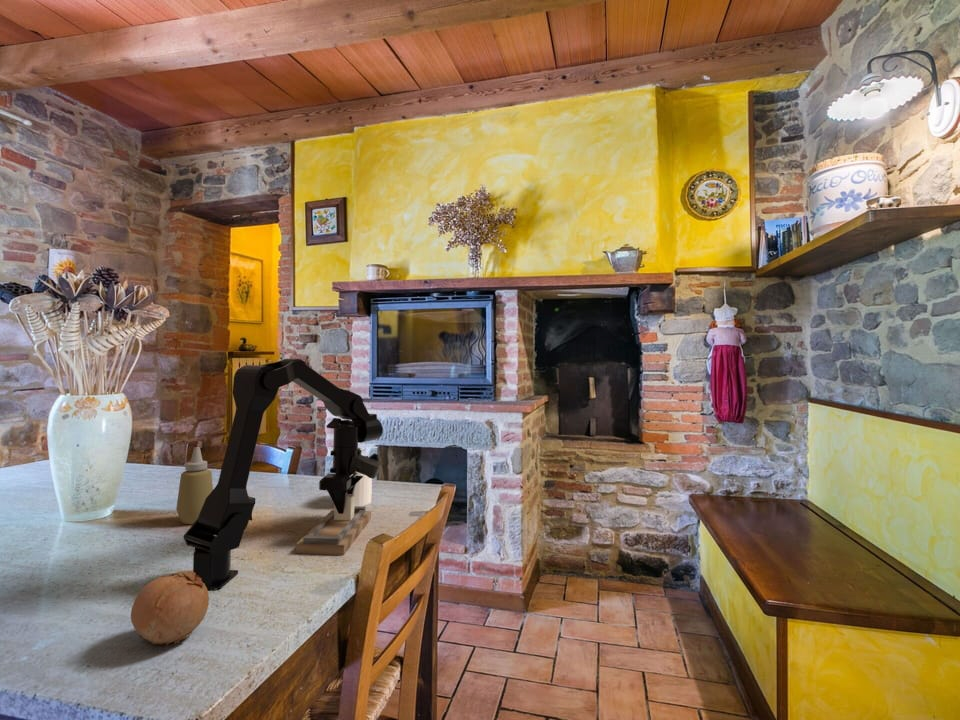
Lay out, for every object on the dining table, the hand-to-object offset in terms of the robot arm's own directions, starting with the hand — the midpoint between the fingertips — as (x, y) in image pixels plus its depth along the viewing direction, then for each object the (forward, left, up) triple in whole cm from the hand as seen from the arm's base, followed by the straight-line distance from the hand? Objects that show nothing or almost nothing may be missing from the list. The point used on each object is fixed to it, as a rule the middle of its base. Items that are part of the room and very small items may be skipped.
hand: (344, 510), depth 114 cm
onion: (-46, +11, -4) cm, 47 cm away
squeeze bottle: (+1, +37, -4) cm, 37 cm away
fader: (0, 0, -2) cm, 2 cm away
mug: (+20, +4, -4) cm, 21 cm away
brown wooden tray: (-5, 0, -4) cm, 6 cm away
